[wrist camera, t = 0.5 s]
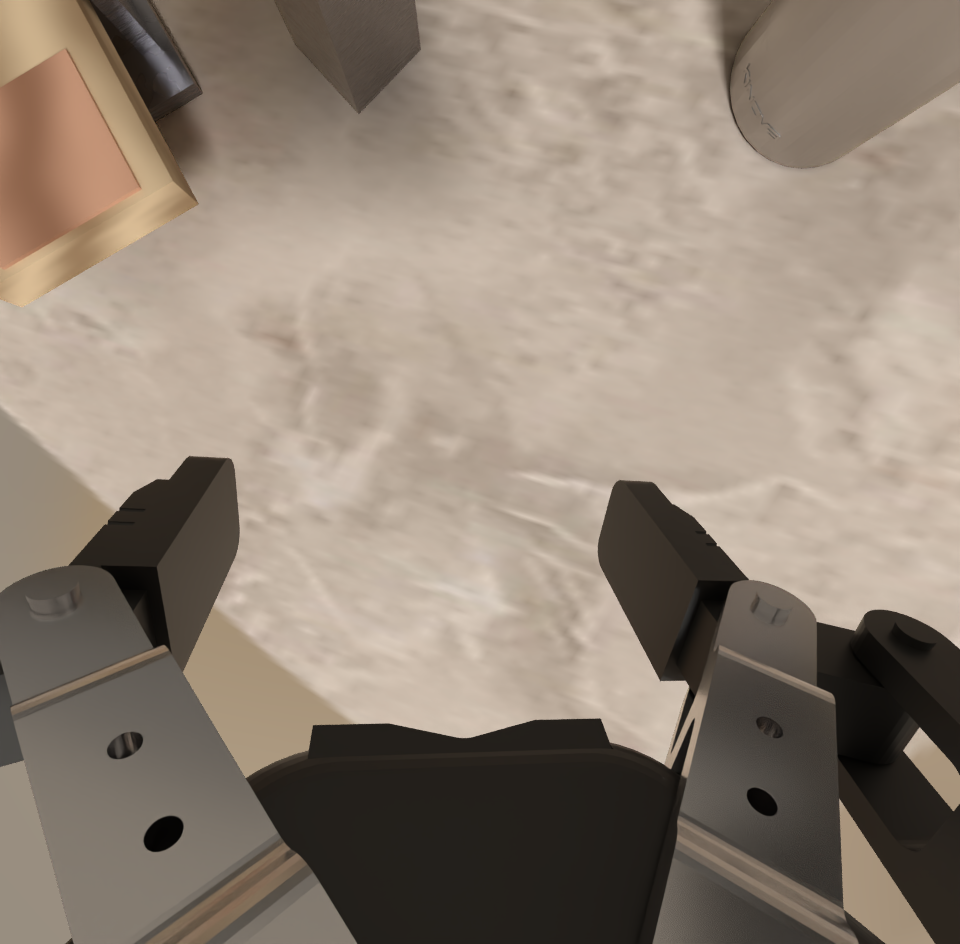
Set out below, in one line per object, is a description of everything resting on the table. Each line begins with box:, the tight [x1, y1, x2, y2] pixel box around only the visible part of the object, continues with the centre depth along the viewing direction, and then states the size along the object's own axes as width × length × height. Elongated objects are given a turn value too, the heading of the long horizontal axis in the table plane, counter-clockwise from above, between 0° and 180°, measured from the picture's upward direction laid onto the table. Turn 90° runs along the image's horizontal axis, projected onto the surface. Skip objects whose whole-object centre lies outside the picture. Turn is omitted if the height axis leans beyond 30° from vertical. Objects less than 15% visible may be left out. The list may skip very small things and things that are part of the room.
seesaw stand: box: [89, 0, 202, 122], centre depth 28 cm, size 14×8×6 cm, turn 119°
